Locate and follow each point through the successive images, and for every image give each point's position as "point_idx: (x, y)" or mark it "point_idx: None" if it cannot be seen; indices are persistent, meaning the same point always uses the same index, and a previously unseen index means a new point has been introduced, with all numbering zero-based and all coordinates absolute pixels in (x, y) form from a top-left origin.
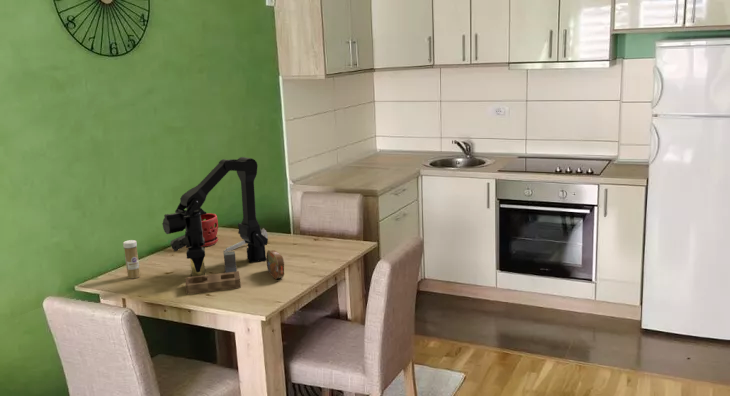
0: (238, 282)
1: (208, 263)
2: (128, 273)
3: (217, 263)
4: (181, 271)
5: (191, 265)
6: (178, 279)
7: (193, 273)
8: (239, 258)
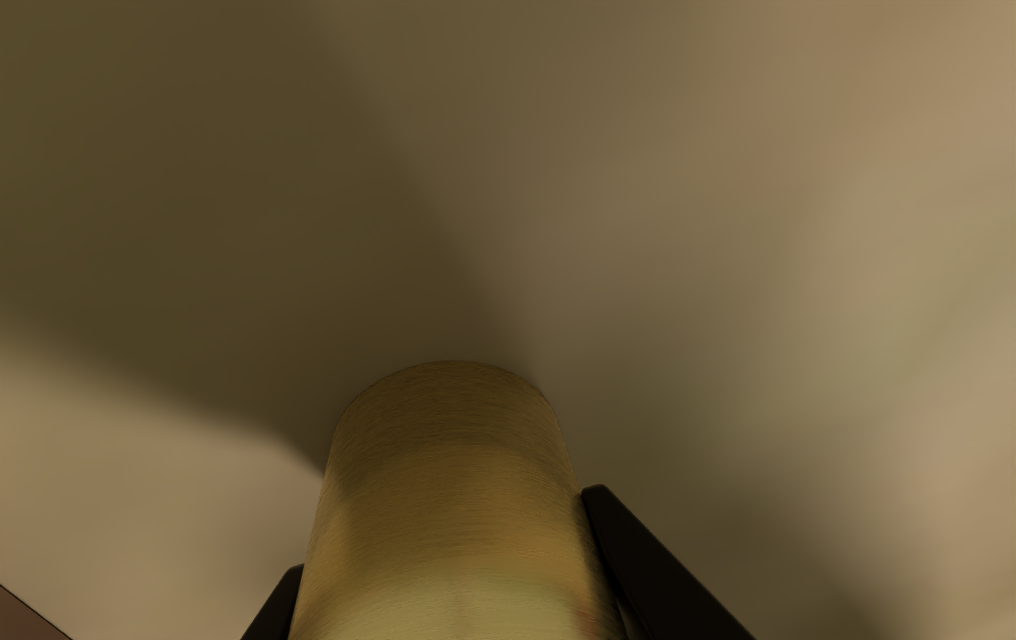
0: None
1: (997, 416)
2: None
3: (920, 514)
4: (781, 44)
5: (327, 616)
6: (168, 145)
7: (328, 472)
8: (960, 636)
